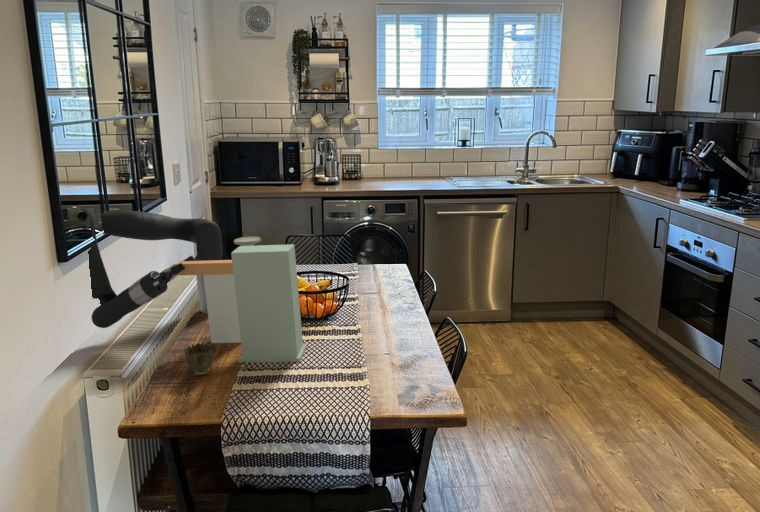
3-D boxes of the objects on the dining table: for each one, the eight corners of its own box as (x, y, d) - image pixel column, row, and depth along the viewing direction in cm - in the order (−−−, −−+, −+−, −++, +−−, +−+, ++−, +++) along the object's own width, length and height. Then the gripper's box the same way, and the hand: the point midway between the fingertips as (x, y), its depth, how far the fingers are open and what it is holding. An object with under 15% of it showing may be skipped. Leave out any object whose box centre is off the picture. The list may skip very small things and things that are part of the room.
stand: (248, 347, 187) (237, 244, 179) (307, 346, 185) (298, 243, 178) (238, 362, 176) (225, 254, 168) (300, 361, 175) (290, 252, 167)
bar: (181, 272, 191) (179, 261, 190) (263, 269, 189) (262, 258, 188) (176, 275, 188) (175, 264, 187) (260, 273, 186) (259, 261, 185)
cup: (220, 370, 172) (217, 343, 170) (205, 381, 165) (201, 354, 163) (198, 367, 174) (194, 341, 172) (182, 378, 168) (178, 351, 166)
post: (216, 337, 197) (208, 270, 191) (247, 336, 196) (240, 269, 190) (211, 343, 192) (203, 275, 186) (242, 342, 191) (235, 274, 186)
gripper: (130, 285, 184) (172, 257, 181) (150, 272, 198) (189, 246, 195) (145, 305, 185) (187, 278, 182) (164, 291, 199) (203, 265, 196)
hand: (188, 261), depth 188 cm, fingers open, 8 cm apart
